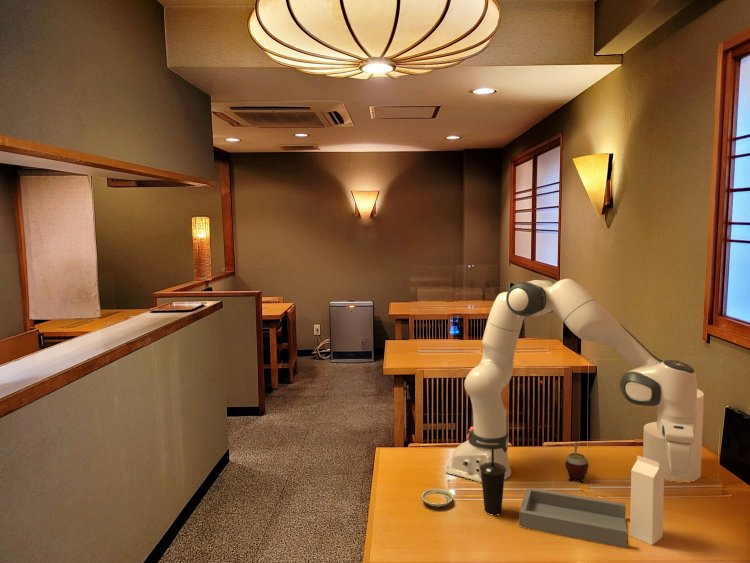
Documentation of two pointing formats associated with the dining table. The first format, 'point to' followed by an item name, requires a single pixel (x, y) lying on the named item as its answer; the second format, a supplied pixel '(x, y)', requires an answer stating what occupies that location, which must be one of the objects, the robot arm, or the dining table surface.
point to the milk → (647, 501)
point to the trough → (574, 516)
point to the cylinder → (657, 450)
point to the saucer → (441, 492)
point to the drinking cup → (492, 485)
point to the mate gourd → (576, 466)
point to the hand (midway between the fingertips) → (673, 474)
